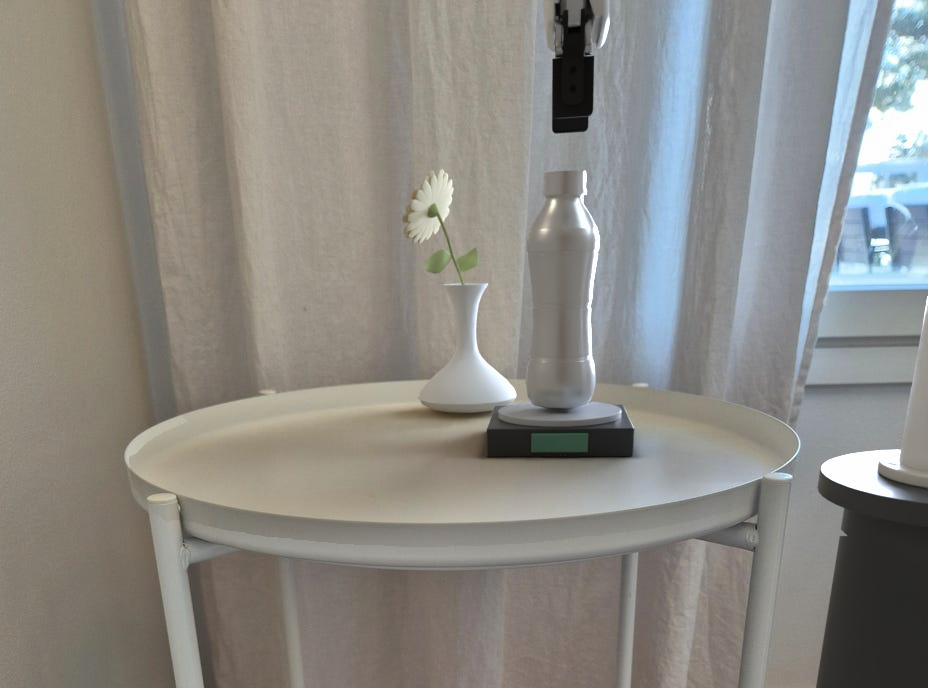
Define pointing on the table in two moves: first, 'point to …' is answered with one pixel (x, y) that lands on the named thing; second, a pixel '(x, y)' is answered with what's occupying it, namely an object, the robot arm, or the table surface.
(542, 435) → the scale
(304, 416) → the table surface
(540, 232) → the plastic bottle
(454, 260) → the flower in vase
